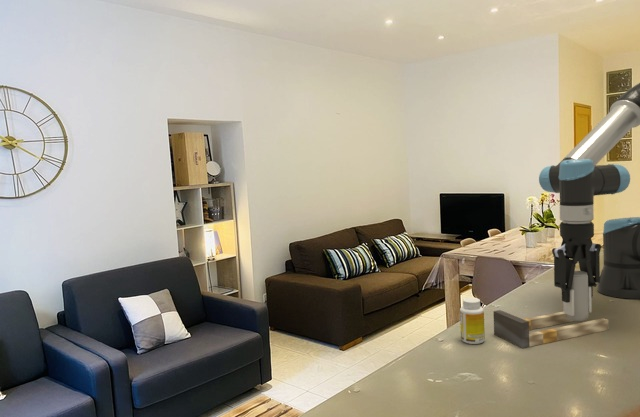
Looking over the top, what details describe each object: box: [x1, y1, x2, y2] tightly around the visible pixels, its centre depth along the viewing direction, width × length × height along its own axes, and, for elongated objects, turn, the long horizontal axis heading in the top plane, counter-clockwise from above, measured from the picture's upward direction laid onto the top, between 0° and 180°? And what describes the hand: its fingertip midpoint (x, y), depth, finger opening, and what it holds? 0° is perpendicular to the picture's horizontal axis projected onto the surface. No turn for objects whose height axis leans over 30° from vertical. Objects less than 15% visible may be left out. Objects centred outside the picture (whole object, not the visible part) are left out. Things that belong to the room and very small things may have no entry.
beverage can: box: [567, 270, 589, 323], centre depth 123 cm, size 5×5×12 cm
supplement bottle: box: [459, 297, 486, 345], centre depth 118 cm, size 6×6×10 cm
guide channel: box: [493, 309, 609, 349], centre depth 121 cm, size 26×10×6 cm, turn 108°
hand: (577, 312), depth 123 cm, fingers closed on beverage can, 5 cm apart
